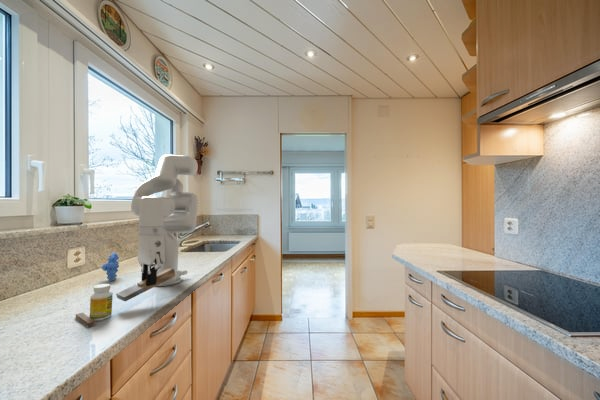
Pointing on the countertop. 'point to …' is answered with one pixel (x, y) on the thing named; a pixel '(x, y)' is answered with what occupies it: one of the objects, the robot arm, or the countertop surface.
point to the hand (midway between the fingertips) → (148, 283)
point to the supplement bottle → (101, 302)
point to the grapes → (111, 266)
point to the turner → (142, 287)
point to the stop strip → (85, 320)
